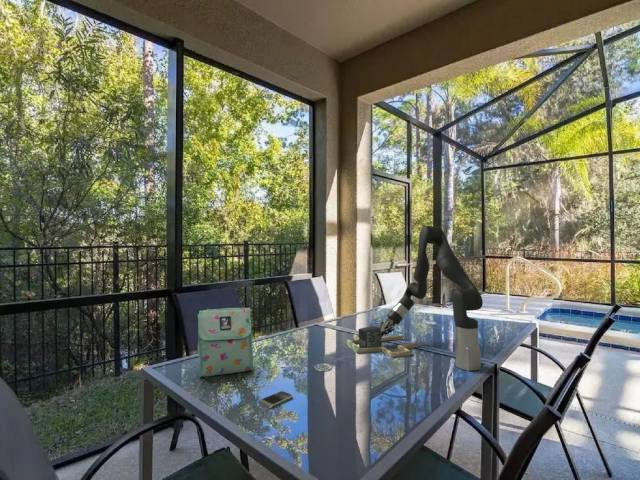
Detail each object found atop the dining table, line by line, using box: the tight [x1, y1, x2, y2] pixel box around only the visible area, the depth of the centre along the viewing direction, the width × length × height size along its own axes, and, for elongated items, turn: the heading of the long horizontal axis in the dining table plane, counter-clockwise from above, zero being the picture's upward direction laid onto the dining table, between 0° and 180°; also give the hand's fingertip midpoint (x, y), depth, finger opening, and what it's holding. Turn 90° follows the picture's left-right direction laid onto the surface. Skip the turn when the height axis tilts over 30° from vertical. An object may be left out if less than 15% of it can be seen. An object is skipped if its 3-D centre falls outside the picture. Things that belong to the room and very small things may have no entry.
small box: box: [358, 325, 383, 349], centre depth 176 cm, size 11×6×10 cm, turn 124°
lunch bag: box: [197, 307, 254, 378], centre depth 149 cm, size 23×16×27 cm
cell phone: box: [258, 391, 294, 410], centre depth 118 cm, size 6×11×1 cm, turn 137°
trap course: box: [345, 333, 419, 358], centre depth 181 cm, size 37×33×3 cm
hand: (377, 338), depth 181 cm, fingers closed
